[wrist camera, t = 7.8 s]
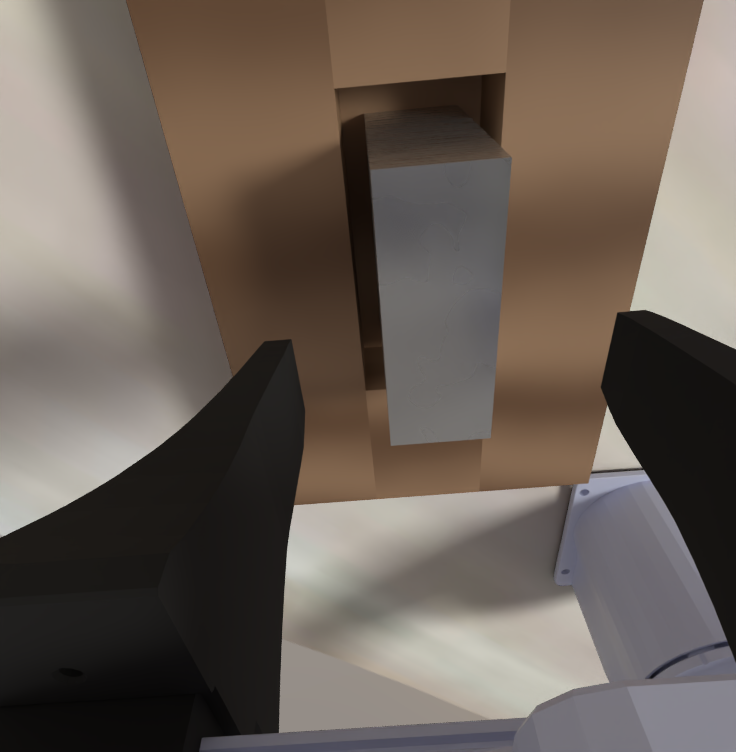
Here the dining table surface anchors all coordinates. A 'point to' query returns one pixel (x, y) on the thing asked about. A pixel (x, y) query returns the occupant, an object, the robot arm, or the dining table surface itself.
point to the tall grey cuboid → (438, 268)
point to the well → (354, 216)
